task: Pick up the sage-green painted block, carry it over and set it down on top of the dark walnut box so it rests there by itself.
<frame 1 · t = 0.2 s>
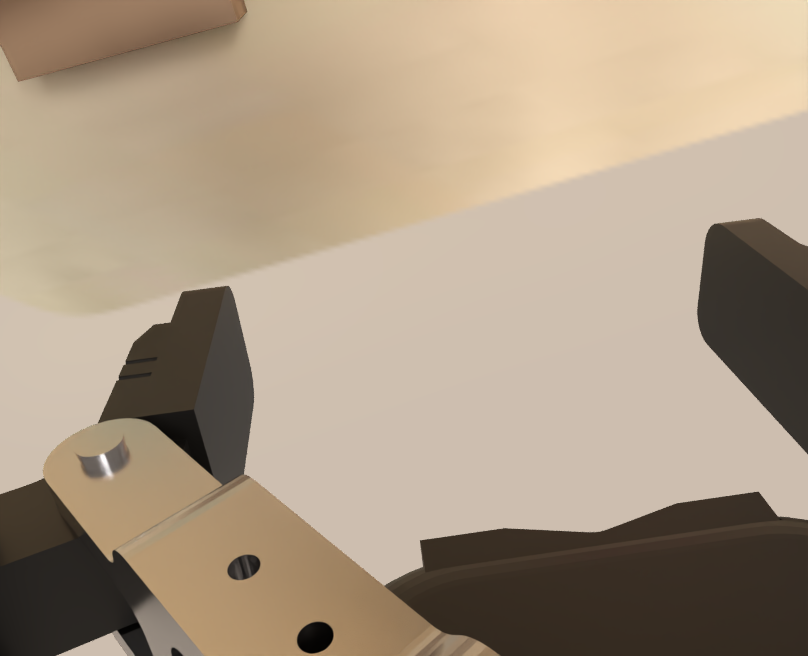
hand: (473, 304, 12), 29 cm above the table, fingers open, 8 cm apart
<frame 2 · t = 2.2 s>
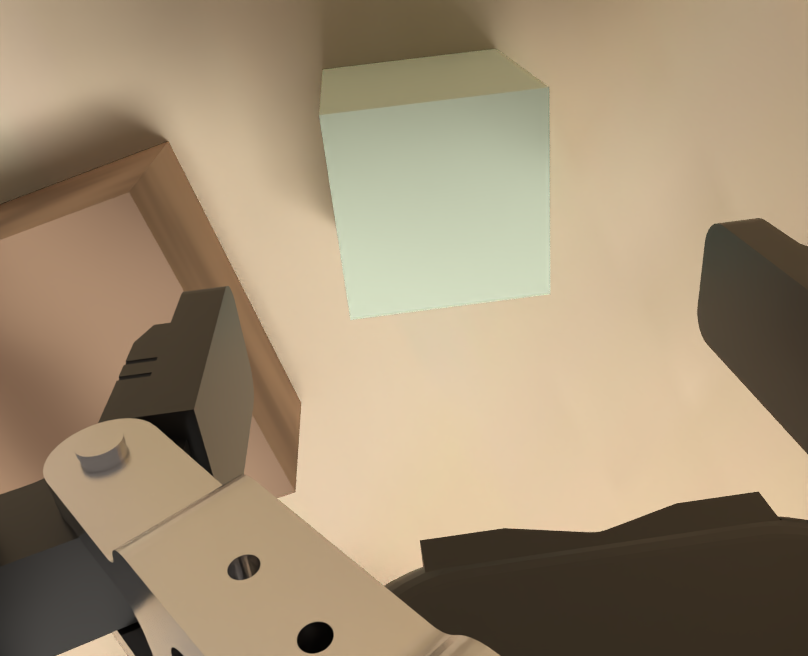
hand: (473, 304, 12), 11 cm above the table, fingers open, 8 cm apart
walnut box: (104, 330, 25), on the table
green block: (417, 145, 22), on the table
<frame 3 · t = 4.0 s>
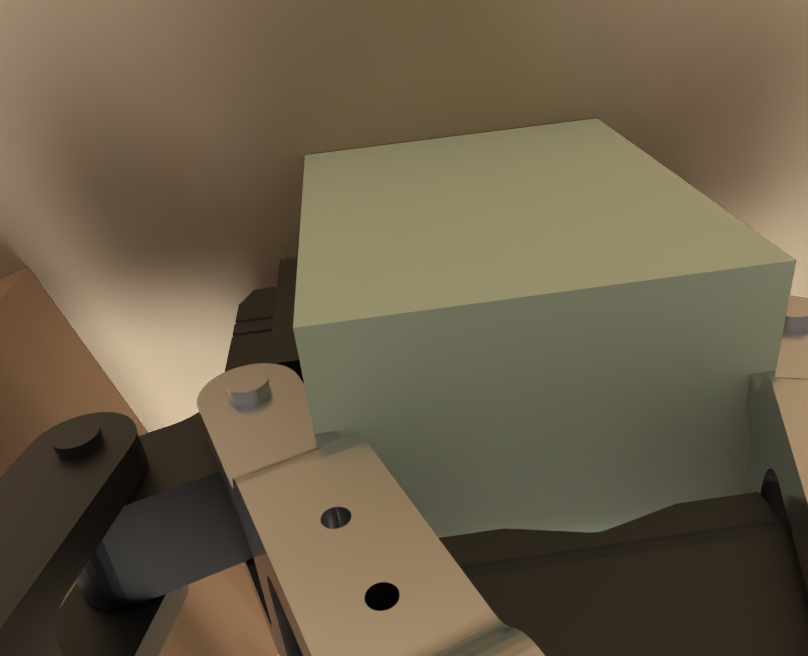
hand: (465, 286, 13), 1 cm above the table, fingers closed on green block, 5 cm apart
green block: (461, 270, 14), on the table, touching gripper
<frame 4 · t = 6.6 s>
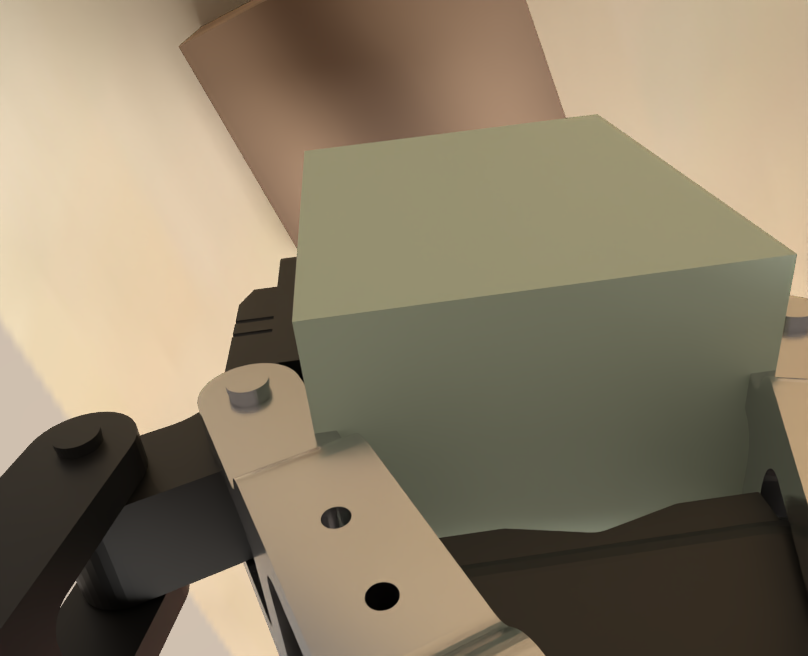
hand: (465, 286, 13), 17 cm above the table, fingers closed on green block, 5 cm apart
walnut box: (388, 93, 28), on the table
green block: (461, 266, 14), point 16 cm above the table, touching gripper
when the fingers open (7 cm above the table, at t = 9.2 s): green block drops 1 cm, point 5 cm above the table.
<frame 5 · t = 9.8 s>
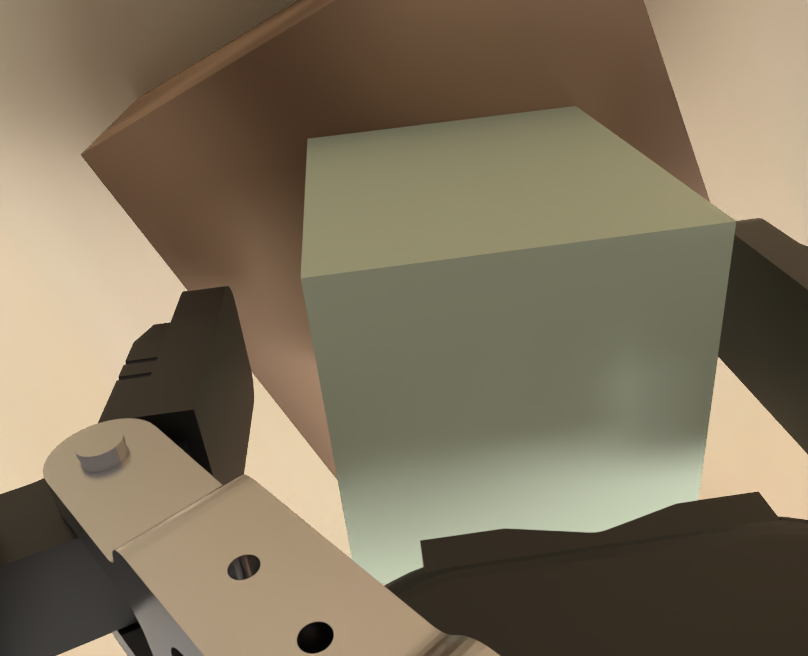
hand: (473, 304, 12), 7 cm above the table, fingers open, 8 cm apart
walnut box: (420, 171, 19), on the table
green block: (451, 246, 15), point 5 cm above the table
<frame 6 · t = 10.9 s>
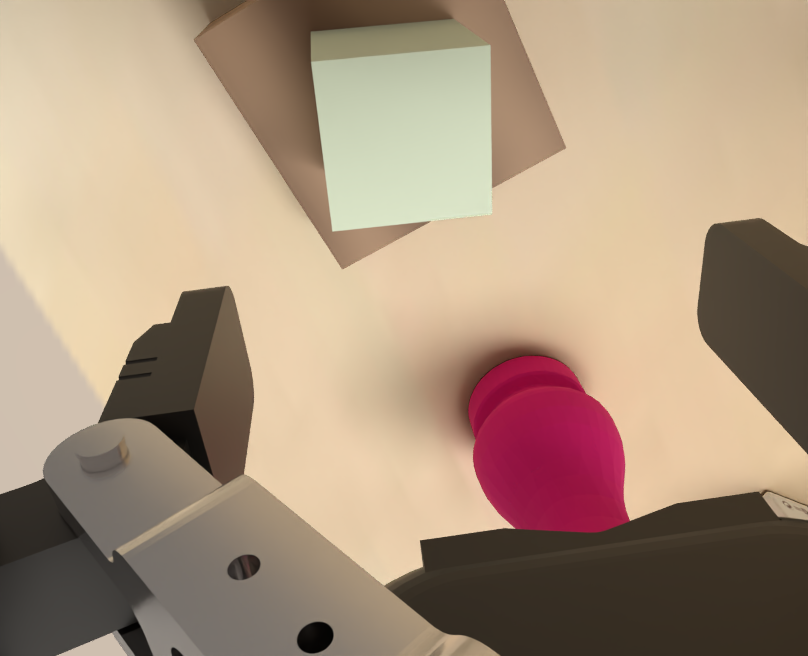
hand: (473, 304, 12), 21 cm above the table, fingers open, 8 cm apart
pepper mill: (523, 401, 40), on the table
walnut box: (380, 72, 31), on the table, touching green block
green block: (388, 98, 27), point 5 cm above the table, touching walnut box
supplement box: (772, 581, 50), on the table
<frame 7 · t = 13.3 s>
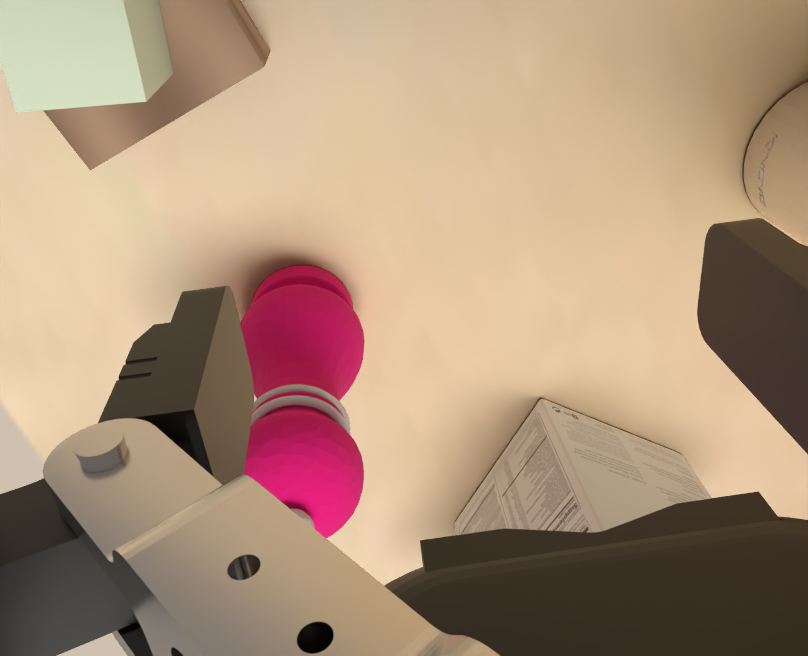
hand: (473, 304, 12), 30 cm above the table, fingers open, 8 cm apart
pepper mill: (302, 308, 46), on the table
walnut box: (132, 8, 37), on the table
green block: (104, 19, 33), point 5 cm above the table
supplement box: (565, 487, 55), on the table
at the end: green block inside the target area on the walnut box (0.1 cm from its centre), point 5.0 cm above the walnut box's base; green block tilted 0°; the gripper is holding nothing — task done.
